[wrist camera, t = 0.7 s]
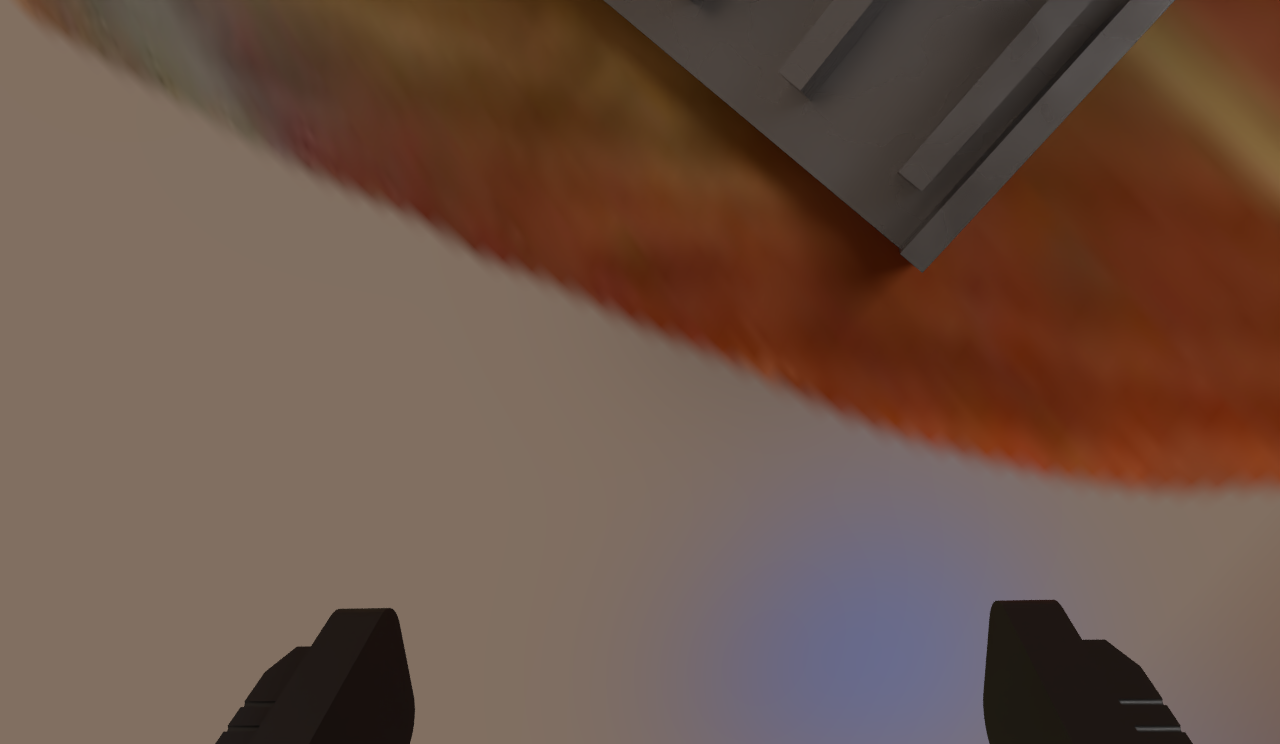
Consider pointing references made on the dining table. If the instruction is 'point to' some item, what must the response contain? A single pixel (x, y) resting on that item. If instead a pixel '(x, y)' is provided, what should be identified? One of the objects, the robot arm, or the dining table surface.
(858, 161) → the rack
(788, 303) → the dining table surface
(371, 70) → the dining table surface
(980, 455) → the dining table surface
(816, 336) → the dining table surface
